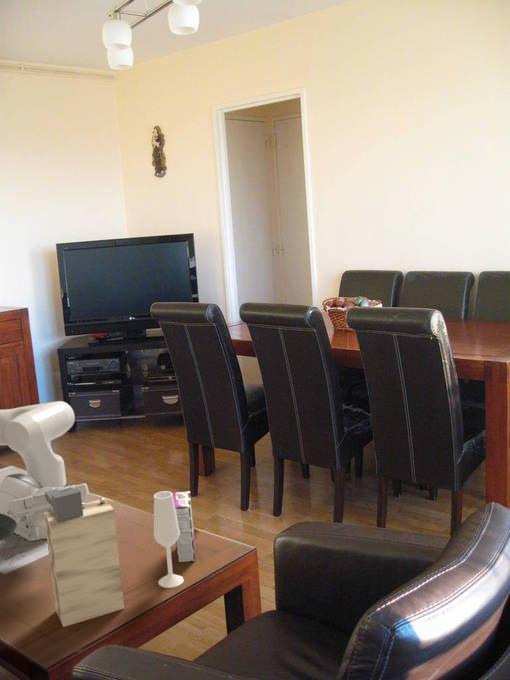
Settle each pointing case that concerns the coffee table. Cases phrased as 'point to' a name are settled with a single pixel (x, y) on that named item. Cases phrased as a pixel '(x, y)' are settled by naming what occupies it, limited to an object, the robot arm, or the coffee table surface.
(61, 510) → the t handle
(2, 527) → the robot arm
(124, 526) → the coffee table surface
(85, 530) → the pedestal
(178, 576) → the champagne flute
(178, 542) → the candy bar box
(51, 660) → the coffee table surface
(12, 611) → the coffee table surface
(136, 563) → the coffee table surface
